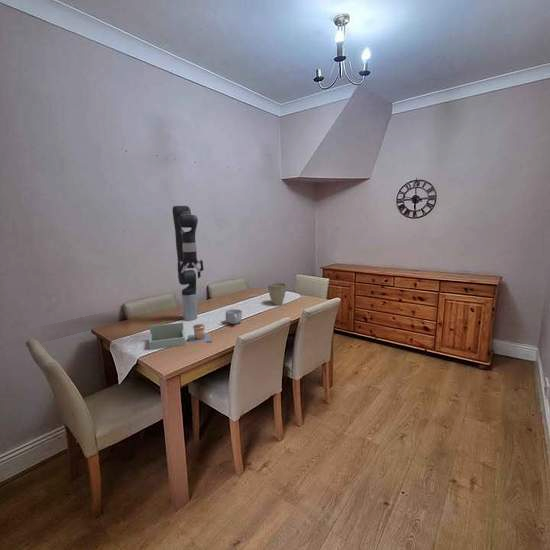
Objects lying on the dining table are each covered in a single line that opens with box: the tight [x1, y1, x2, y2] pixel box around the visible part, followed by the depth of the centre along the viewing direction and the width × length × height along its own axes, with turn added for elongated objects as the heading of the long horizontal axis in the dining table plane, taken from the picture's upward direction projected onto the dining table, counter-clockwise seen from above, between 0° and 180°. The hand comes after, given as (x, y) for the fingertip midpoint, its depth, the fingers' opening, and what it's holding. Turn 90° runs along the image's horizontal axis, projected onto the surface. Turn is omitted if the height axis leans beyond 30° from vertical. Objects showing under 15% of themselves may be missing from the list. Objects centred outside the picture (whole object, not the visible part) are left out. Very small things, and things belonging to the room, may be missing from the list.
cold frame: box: [148, 322, 186, 350], centre depth 166 cm, size 14×18×9 cm
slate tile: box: [187, 332, 213, 344], centre depth 172 cm, size 12×12×1 cm
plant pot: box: [267, 282, 287, 306], centre depth 241 cm, size 15×15×16 cm
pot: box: [192, 323, 206, 340], centre depth 171 cm, size 6×6×7 cm
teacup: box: [224, 308, 243, 325], centre depth 198 cm, size 14×11×8 cm
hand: (191, 278), depth 176 cm, fingers open, 8 cm apart
